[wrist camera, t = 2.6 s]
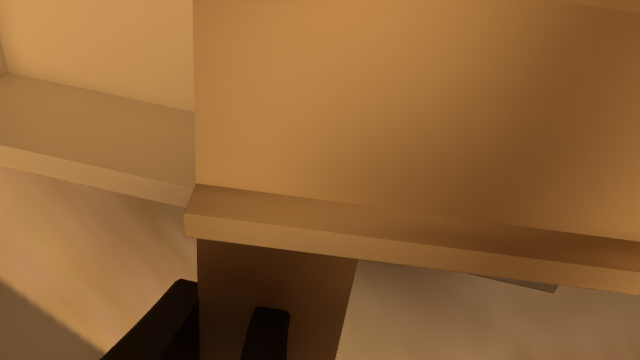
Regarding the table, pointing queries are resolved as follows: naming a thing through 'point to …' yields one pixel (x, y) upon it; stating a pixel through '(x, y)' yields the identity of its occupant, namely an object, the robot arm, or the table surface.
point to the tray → (100, 94)
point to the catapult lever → (407, 151)
